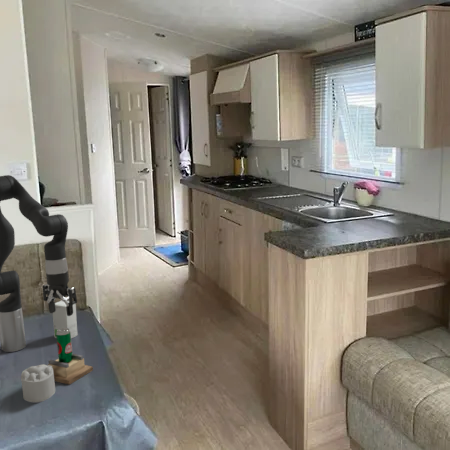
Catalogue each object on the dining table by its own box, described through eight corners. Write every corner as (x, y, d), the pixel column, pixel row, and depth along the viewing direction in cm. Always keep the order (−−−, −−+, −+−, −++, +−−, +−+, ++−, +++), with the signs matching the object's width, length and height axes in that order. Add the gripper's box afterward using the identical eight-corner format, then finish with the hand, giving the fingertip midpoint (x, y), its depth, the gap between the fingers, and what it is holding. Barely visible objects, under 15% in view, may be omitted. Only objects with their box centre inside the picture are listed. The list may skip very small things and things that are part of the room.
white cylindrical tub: (54, 382, 179) (52, 359, 177) (56, 398, 167) (53, 374, 165) (23, 388, 175) (20, 365, 174) (23, 405, 163) (20, 381, 162)
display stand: (41, 377, 183) (39, 361, 181) (65, 364, 193) (63, 349, 192) (69, 384, 176) (67, 368, 175) (93, 370, 186) (91, 354, 185)
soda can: (68, 364, 181) (65, 332, 179) (56, 363, 182) (52, 332, 180) (75, 358, 186) (72, 327, 184) (63, 357, 187) (60, 327, 185)
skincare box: (54, 338, 220) (50, 304, 218) (64, 332, 226) (61, 299, 224) (68, 340, 217) (65, 306, 214) (79, 335, 223) (75, 301, 220)
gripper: (34, 271, 178) (39, 314, 181) (63, 275, 171) (68, 319, 174) (50, 266, 184) (54, 308, 187) (79, 269, 178) (83, 312, 181)
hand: (61, 313), depth 181 cm, fingers open, 8 cm apart
